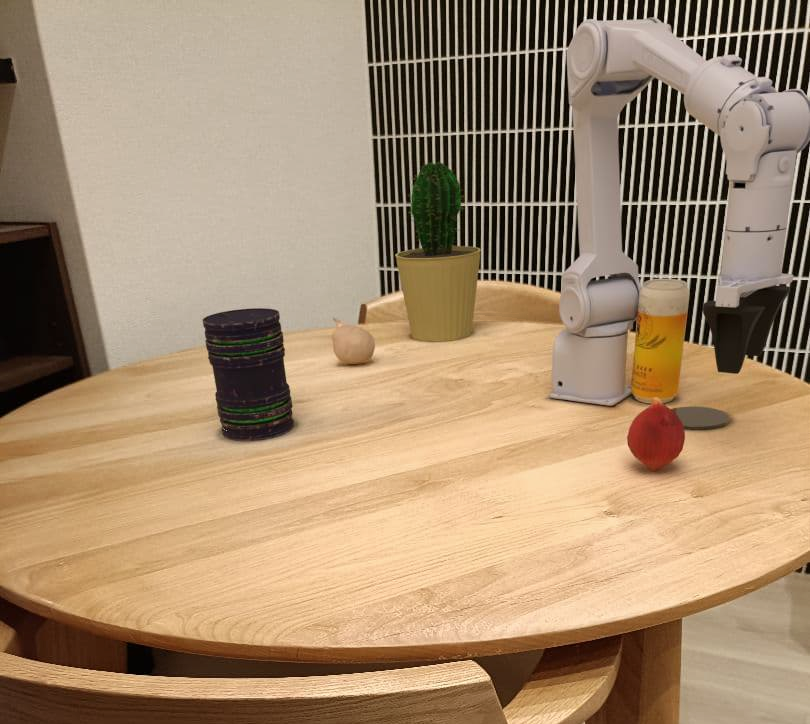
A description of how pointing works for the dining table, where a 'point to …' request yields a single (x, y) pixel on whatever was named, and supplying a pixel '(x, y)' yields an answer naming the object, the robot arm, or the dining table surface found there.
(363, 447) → the dining table surface
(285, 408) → the dark purple cylinder
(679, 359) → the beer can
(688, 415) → the coaster
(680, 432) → the onion
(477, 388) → the dining table surface
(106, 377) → the dining table surface
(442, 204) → the potted cactus
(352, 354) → the garlic bulb
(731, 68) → the robot arm
